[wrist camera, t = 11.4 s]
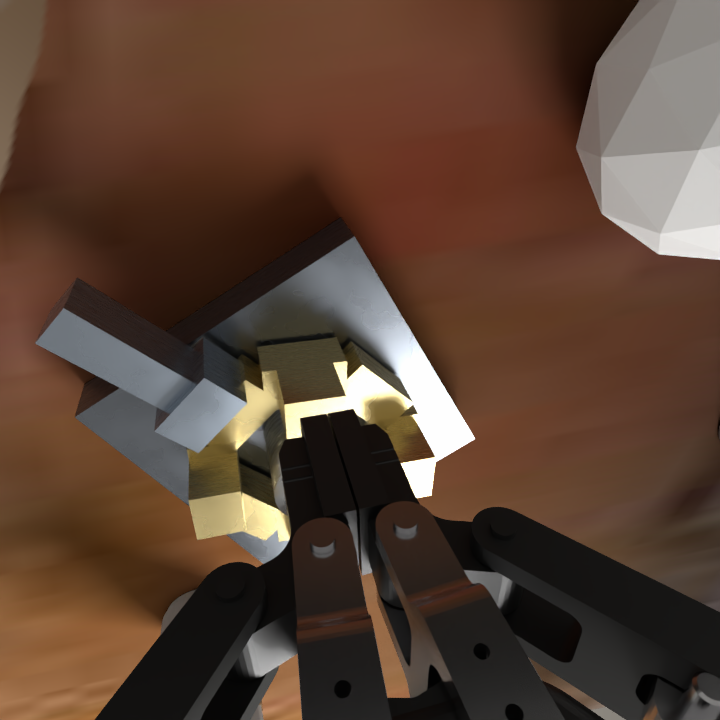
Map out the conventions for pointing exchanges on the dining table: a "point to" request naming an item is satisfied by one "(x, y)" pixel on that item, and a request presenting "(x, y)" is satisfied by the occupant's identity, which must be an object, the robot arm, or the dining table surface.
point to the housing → (279, 326)
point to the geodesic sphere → (659, 127)
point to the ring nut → (233, 401)
